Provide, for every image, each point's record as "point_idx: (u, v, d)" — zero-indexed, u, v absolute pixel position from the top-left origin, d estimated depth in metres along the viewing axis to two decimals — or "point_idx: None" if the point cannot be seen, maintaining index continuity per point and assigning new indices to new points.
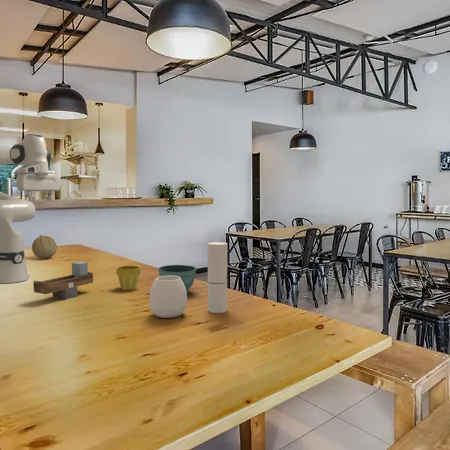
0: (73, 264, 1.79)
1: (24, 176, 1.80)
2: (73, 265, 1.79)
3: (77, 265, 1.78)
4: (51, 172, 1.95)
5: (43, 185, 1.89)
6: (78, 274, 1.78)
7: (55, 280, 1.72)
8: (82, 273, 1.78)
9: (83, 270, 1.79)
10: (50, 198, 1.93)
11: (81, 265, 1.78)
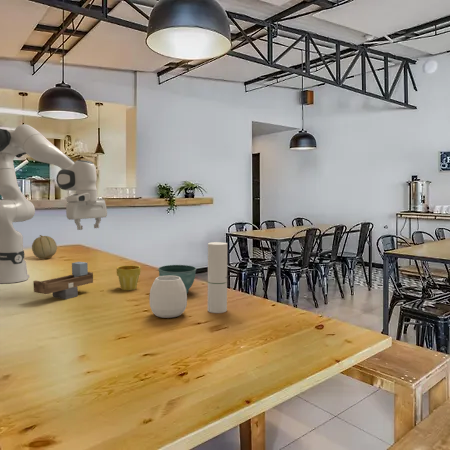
0: (73, 264, 1.79)
1: (75, 205, 1.75)
2: (73, 265, 1.79)
3: (77, 265, 1.78)
4: (99, 198, 1.89)
5: (91, 213, 1.84)
6: (78, 274, 1.78)
7: (55, 280, 1.72)
8: (82, 273, 1.78)
9: (83, 270, 1.79)
10: (97, 225, 1.88)
11: (81, 265, 1.78)
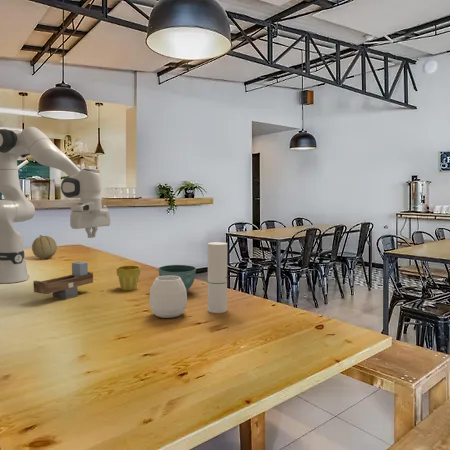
0: (73, 264, 1.79)
1: (79, 214, 1.75)
2: (73, 265, 1.79)
3: (77, 265, 1.78)
4: (103, 207, 1.90)
5: (95, 222, 1.84)
6: (78, 274, 1.78)
7: (55, 280, 1.72)
8: (82, 273, 1.78)
9: (83, 270, 1.79)
10: (93, 235, 1.85)
11: (81, 265, 1.78)
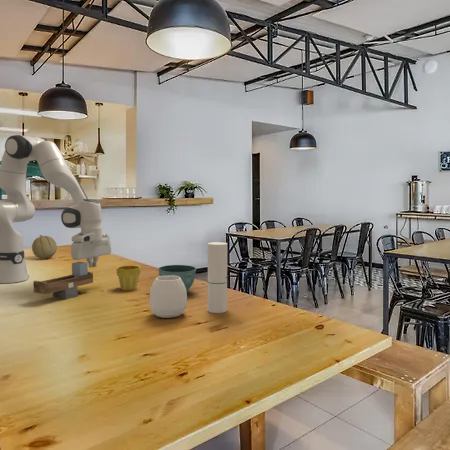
0: (73, 264, 1.79)
1: (80, 246, 1.77)
2: (73, 265, 1.79)
3: (77, 265, 1.78)
4: (103, 236, 1.91)
5: (96, 251, 1.85)
6: (78, 274, 1.78)
7: (55, 280, 1.72)
8: (82, 273, 1.78)
9: (83, 270, 1.79)
10: (94, 264, 1.86)
11: (81, 265, 1.78)
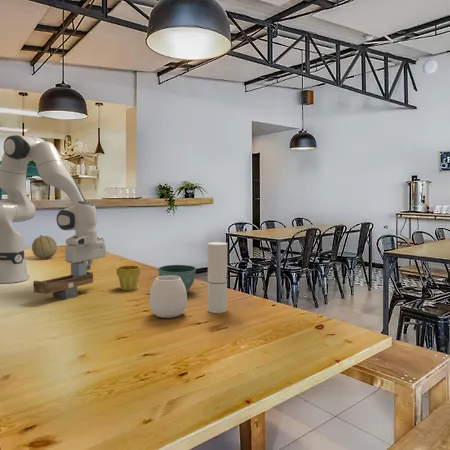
0: (72, 264, 1.78)
1: (74, 249, 1.74)
2: (72, 265, 1.79)
3: (76, 265, 1.77)
4: (98, 239, 1.88)
5: (90, 254, 1.83)
6: (77, 274, 1.77)
7: (55, 280, 1.72)
8: (81, 273, 1.78)
9: (82, 270, 1.78)
10: (89, 267, 1.84)
11: (80, 265, 1.77)
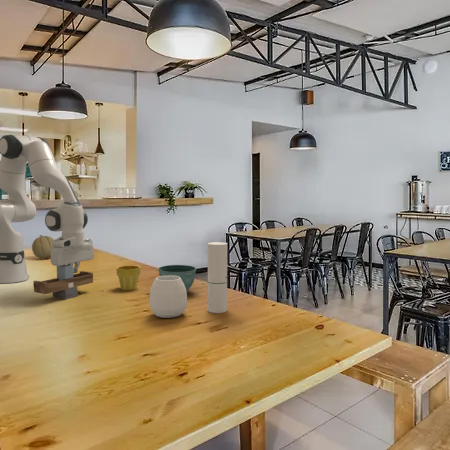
0: (58, 267, 1.72)
1: (59, 251, 1.68)
2: (58, 268, 1.72)
3: (62, 268, 1.71)
4: (86, 240, 1.82)
5: (77, 257, 1.77)
6: (63, 277, 1.71)
7: (55, 280, 1.72)
8: (67, 276, 1.72)
9: (68, 273, 1.72)
10: (76, 270, 1.77)
11: (66, 268, 1.71)
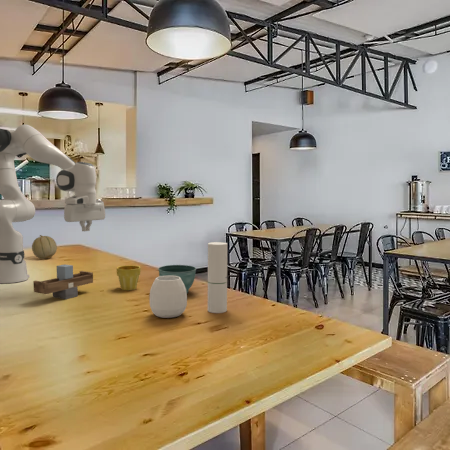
0: (58, 267, 1.72)
1: (73, 208, 1.75)
2: (58, 268, 1.72)
3: (62, 268, 1.71)
4: (98, 201, 1.89)
5: (89, 215, 1.84)
6: (63, 277, 1.71)
7: (55, 280, 1.72)
8: (67, 276, 1.72)
9: (68, 273, 1.72)
10: (88, 228, 1.85)
11: (66, 268, 1.71)
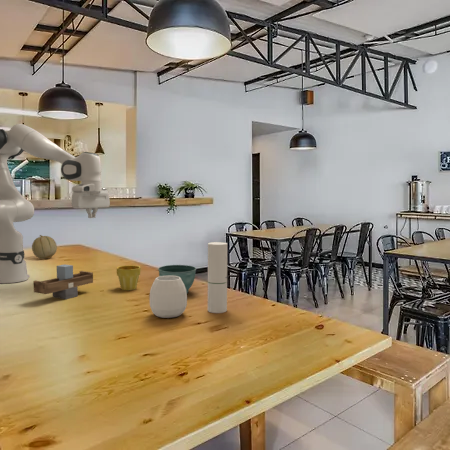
0: (58, 267, 1.72)
1: (80, 195, 1.84)
2: (58, 268, 1.72)
3: (62, 268, 1.71)
4: (103, 189, 1.99)
5: (95, 203, 1.93)
6: (63, 277, 1.71)
7: (55, 280, 1.72)
8: (67, 276, 1.72)
9: (68, 273, 1.72)
10: (94, 215, 1.94)
11: (66, 268, 1.71)
